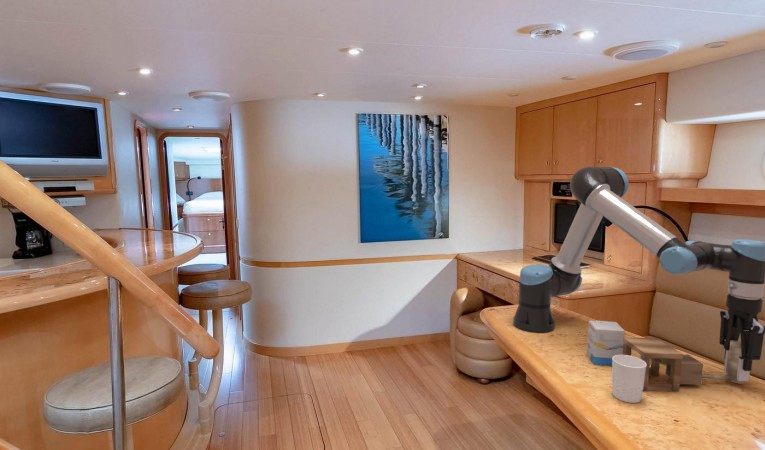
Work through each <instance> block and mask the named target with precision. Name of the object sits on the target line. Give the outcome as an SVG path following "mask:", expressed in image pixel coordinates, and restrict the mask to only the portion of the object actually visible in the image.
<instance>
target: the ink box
mask: <svg viewBox="0 0 765 450" xmlns="http://www.w3.org/2000/svg"><path fill="white" fill-rule="evenodd" d="M624 338H626V330H625V329H623V328H622V326H620V325H619V323H618V322H617V321H606V320H588V331H587V346H586V355H587V356H588V358H589V359H590V361H591V362H592V364H593V365H595V366H596V365H598V366H606V367H607V366H608V367H609V366H610V367H612V357H613V356H615V355H623V344H624V342H623V339H624Z"/></svg>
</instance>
